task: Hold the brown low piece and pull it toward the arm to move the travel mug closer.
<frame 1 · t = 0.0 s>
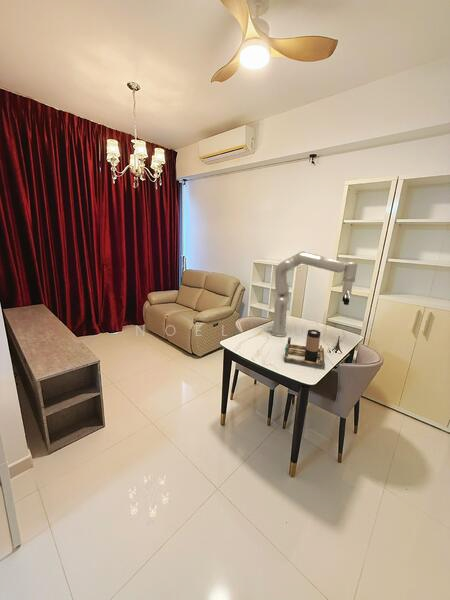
hand: (345, 303, 175), 31 cm above the table, fingers open, 9 cm apart
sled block: (304, 346, 166), point 4 cm above the table, slide at 0.0 cm
walnut block: (311, 353, 165), resting in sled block
brown low piece: (303, 354, 154), point 4 cm above the table, slide at 0.0 cm
eiffel tower figurine: (336, 352, 170), on the table
lane frame: (303, 356, 160), on the table
travel mug: (310, 361, 154), resting in brown low piece
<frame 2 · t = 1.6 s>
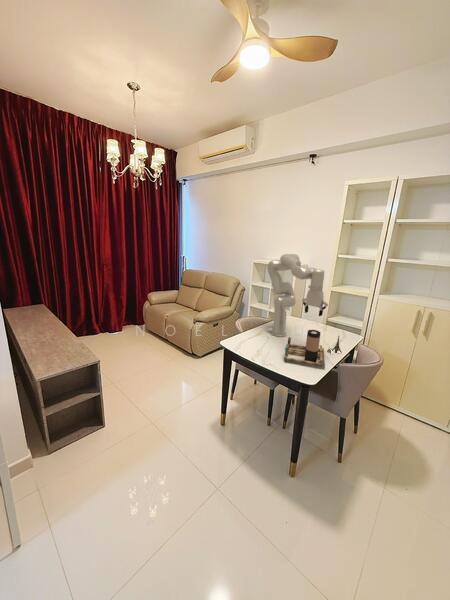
hand: (313, 314, 161), 27 cm above the table, fingers open, 9 cm apart
nothing on the table moved.
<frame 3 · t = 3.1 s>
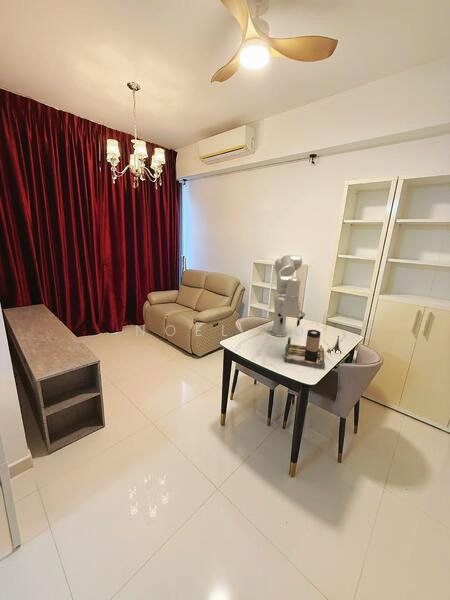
hand: (289, 325, 153), 22 cm above the table, fingers open, 9 cm apart
nothing on the table moved.
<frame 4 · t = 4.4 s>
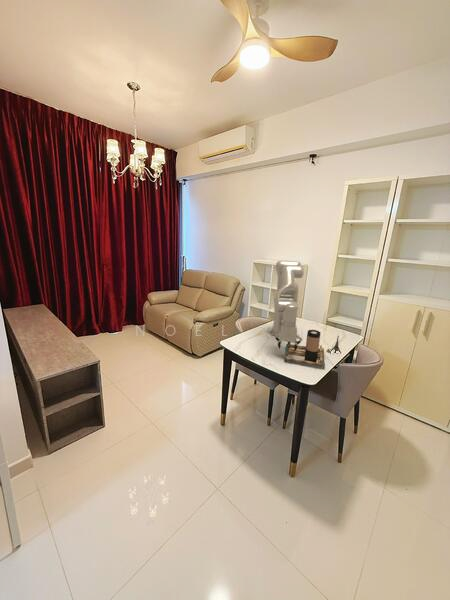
hand: (287, 348, 157), 6 cm above the table, fingers open, 9 cm apart
nothing on the table moved.
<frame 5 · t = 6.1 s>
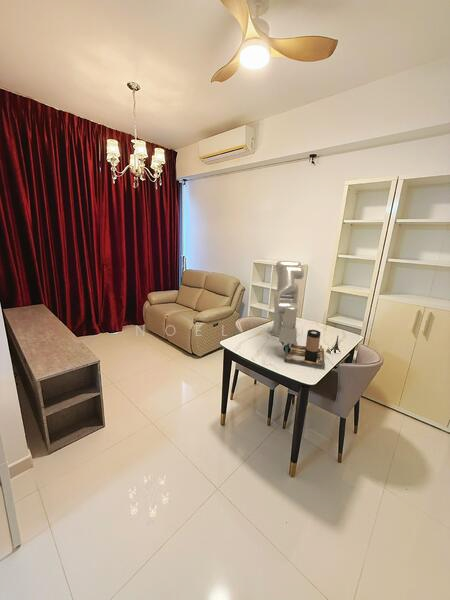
hand: (286, 352, 158), 4 cm above the table, fingers closed on brown low piece
brown low piece: (303, 354, 154), point 4 cm above the table, slide at 0.0 cm, touching gripper
everything else where it was.
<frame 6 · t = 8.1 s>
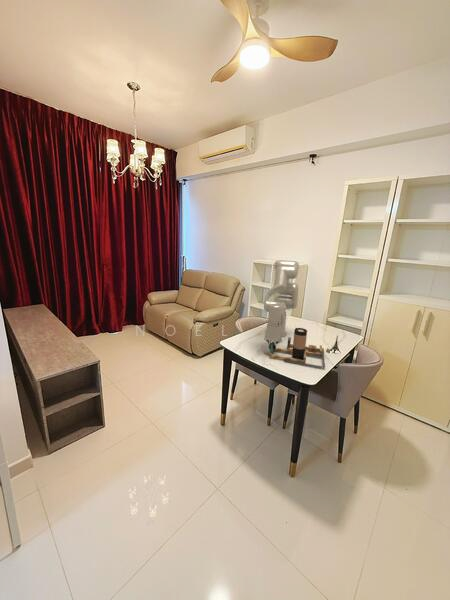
hand: (272, 349, 161), 4 cm above the table, fingers closed on brown low piece
brown low piece: (288, 351, 157), point 4 cm above the table, slide at 9.4 cm, touching gripper, travel mug
travel mug: (297, 359, 156), resting in brown low piece
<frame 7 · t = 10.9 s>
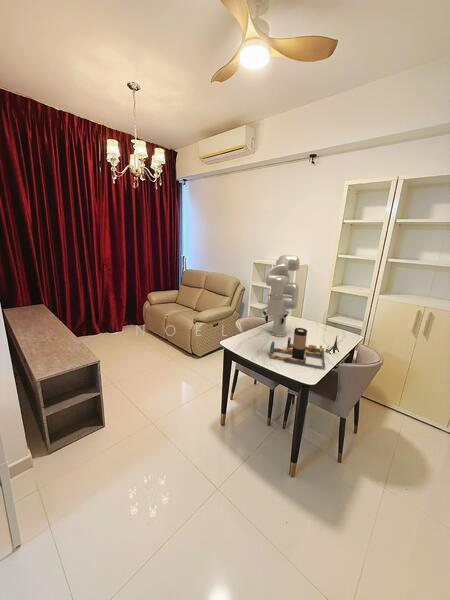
hand: (274, 322, 157), 22 cm above the table, fingers open, 9 cm apart
brown low piece: (288, 351, 157), point 4 cm above the table, slide at 9.5 cm
travel mug: (297, 359, 156), resting in brown low piece
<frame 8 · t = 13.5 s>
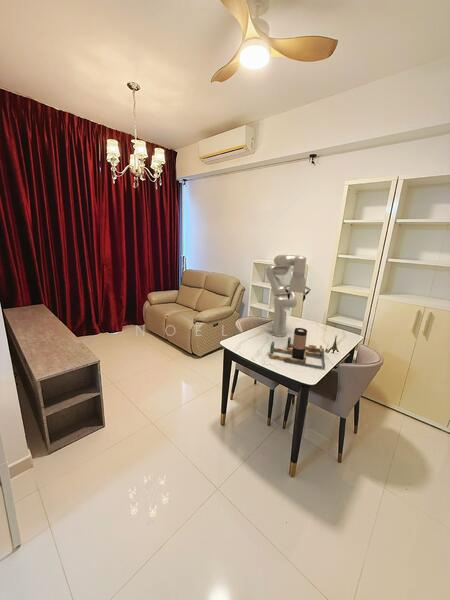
hand: (296, 299, 167), 34 cm above the table, fingers open, 9 cm apart
at the end: brown low piece slide at 9.5 cm; travel mug inside the target area (0.7 cm from its centre), resting in brown low piece; travel mug tilted 0° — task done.
